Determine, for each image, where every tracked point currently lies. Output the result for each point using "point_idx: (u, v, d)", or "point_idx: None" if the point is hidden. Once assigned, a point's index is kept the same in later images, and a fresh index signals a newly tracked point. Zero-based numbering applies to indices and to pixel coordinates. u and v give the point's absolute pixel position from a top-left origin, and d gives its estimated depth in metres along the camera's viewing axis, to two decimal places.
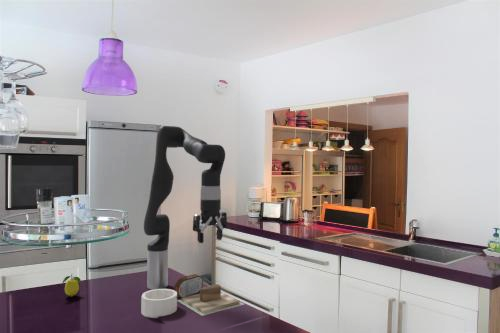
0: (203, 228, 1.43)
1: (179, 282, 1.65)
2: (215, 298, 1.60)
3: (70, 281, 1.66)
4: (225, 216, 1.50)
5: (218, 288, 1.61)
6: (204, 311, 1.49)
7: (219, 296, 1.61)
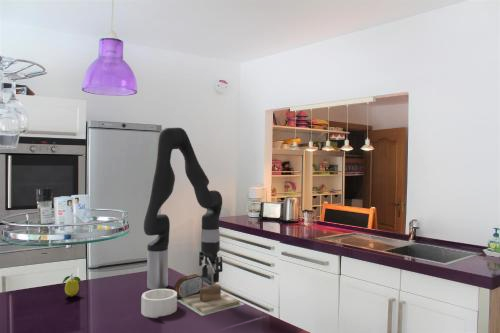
0: None
1: (179, 282, 1.65)
2: (215, 298, 1.60)
3: (70, 281, 1.66)
4: None
5: (218, 288, 1.61)
6: (204, 311, 1.49)
7: (219, 296, 1.61)
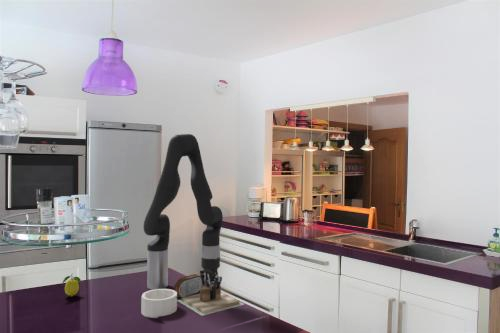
0: None
1: (179, 282, 1.65)
2: (215, 298, 1.60)
3: (70, 281, 1.66)
4: None
5: None
6: (204, 311, 1.49)
7: (219, 296, 1.61)
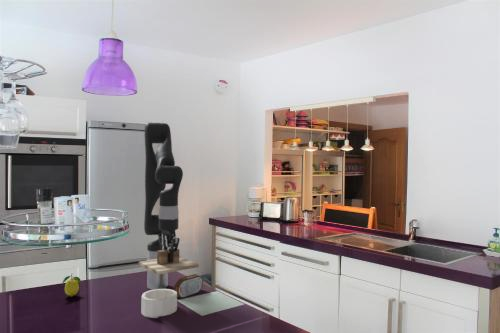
0: None
1: (179, 282, 1.65)
2: (173, 261, 1.53)
3: (70, 281, 1.66)
4: None
5: None
6: (159, 272, 1.42)
7: (178, 259, 1.54)
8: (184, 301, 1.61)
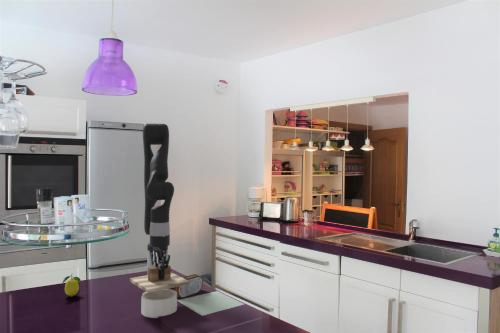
0: None
1: None
2: (164, 278, 1.52)
3: (70, 281, 1.66)
4: None
5: (168, 268, 1.52)
6: (148, 290, 1.40)
7: (169, 276, 1.53)
8: (184, 301, 1.61)
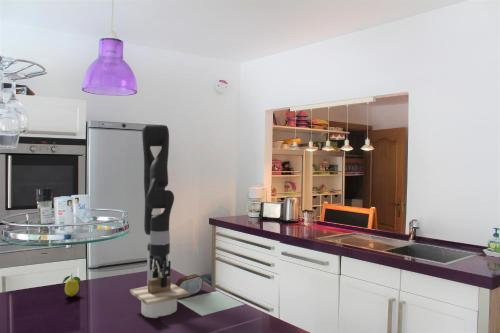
0: None
1: (179, 282, 1.65)
2: (164, 290, 1.52)
3: (70, 281, 1.66)
4: None
5: (168, 279, 1.53)
6: (148, 303, 1.40)
7: (169, 288, 1.53)
8: (184, 301, 1.61)
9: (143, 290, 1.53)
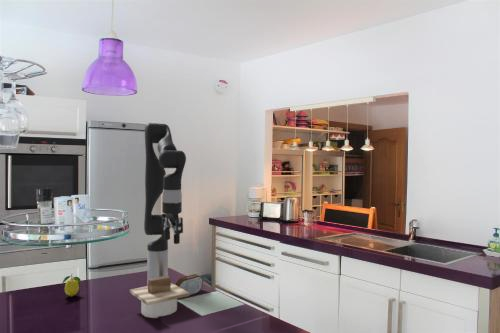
0: None
1: (179, 282, 1.65)
2: (164, 290, 1.52)
3: (70, 281, 1.66)
4: None
5: (168, 279, 1.53)
6: (148, 303, 1.40)
7: (169, 288, 1.53)
8: (184, 301, 1.61)
9: (143, 290, 1.53)
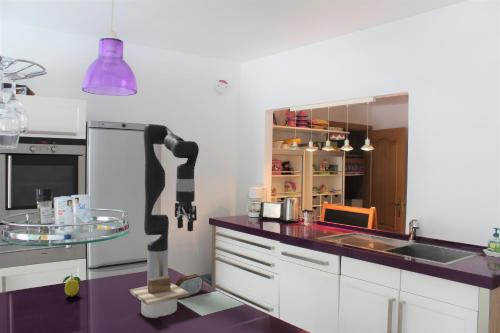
0: None
1: (179, 282, 1.65)
2: (164, 290, 1.52)
3: (70, 281, 1.66)
4: None
5: (168, 279, 1.53)
6: (148, 303, 1.40)
7: (169, 288, 1.53)
8: (184, 301, 1.61)
9: (143, 290, 1.53)
